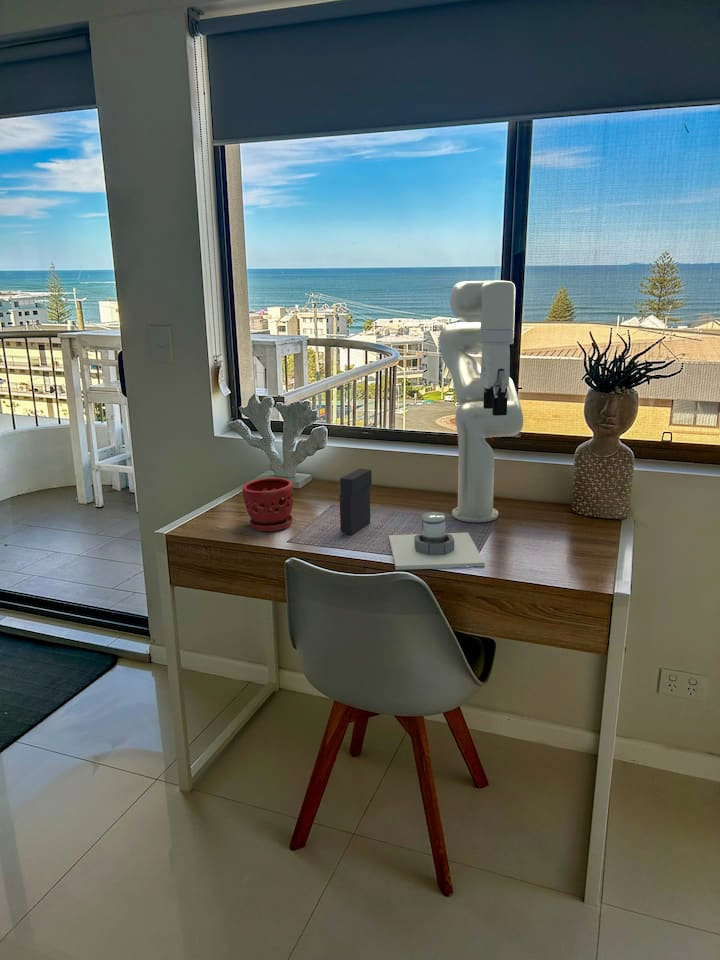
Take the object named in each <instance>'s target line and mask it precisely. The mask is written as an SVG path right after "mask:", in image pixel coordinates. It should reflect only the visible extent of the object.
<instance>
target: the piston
mask: <svg viewBox="0 0 720 960" xmlns="http://www.w3.org/2000/svg"><path fill="white" fill-rule="evenodd" d="M421 531H422V532H421V533H422V542H426V543H429V544H435V543H444V542H446V533H447V531H446V514H445V513H443V512H439V511H429V512H428V511H427V512H424V513H423V514H421Z"/></svg>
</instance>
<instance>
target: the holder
mask: <svg viewBox="0 0 720 960" xmlns="http://www.w3.org/2000/svg"><path fill="white" fill-rule="evenodd" d="M388 540H389V545H390V546H389V547H390V549H391V554H392V558H393V559H394V560H393V559H392V560H393V563H394V567H395V568H394V569H395V571H404V570H405V571H406V570H425V569H426V570H430V569H431V570H432V569H433V570H434V569H454V568H453V567H464V568H473V567H472V566H486V562H485V560H484V559H483V557H482V555H481V554H480V551H479V550H478V548H477V546H476V544H475V542H474V541H473V539H472V537H471V535H470V534H469V532H452V533H451V532H446V542H444V543H435V544H429V543H426V542H422V532H421V533H419V534H418V533H415V534H414V533H413V534H389V535H388ZM467 566H468V567H467ZM451 567H452V568H451Z"/></svg>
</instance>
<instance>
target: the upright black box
mask: <svg viewBox="0 0 720 960" xmlns="http://www.w3.org/2000/svg"><path fill="white" fill-rule="evenodd" d="M372 479H373V478H372V469H365V468H358V469H356V470H354V471H352V472H350V473H348V474H346V475H343V476H342V477H340V478H339V522H340V527H339V528H340V531H341V534H342V533H343V534H344V535H348V534H349V535H350V536H353V535H354V534H356V533H358V532H359V531H360V530H362V529H363V528H365V527H366V526H368V525H370V524H371V492H370V491H371V489H370V488H371V485H372V483H373V482H372ZM367 524H368V525H367ZM364 526H365V527H364ZM361 528H362V529H361ZM358 530H359V531H358ZM355 532H356V533H355ZM343 534H342V535H343ZM352 534H353V535H352Z"/></svg>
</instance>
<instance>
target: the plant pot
mask: <svg viewBox="0 0 720 960" xmlns="http://www.w3.org/2000/svg"><path fill="white" fill-rule="evenodd" d="M293 487H294V486H293V482H292V481H291V480H290V479H286V478H281V477H266V478H265V477H264V478H260V479H256V480H251V481H249V482H247V483H245V484H244V485H243V487H242V494H243V495H242V496H243V501H244V505H245V508H246V512H247V513H248V515H249V517H250V520H249V525H250V527H252V529H255V530H257V531H259V532H276V531H281V530H283V529H285V528H288V527H289V526H290V525H291V524H292V523H293V520H294V517H293V516H292V515H291V513H292V511H293V506H294V488H293ZM264 489H266V490H264Z"/></svg>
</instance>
